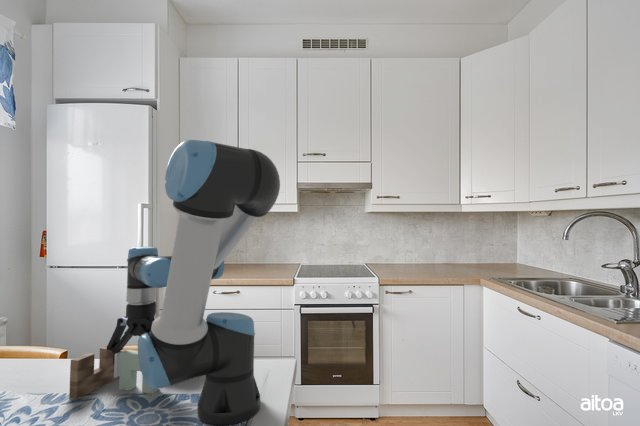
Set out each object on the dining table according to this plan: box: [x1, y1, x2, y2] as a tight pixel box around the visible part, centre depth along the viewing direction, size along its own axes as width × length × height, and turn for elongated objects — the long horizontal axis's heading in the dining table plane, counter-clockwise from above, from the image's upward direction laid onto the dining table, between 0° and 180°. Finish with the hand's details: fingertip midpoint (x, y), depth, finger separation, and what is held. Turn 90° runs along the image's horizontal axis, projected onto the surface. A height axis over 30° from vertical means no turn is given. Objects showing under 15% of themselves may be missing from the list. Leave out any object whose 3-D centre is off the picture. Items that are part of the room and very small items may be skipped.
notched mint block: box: [118, 349, 160, 394], centre depth 96 cm, size 11×2×10 cm, turn 76°
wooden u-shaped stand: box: [68, 344, 120, 400], centre depth 98 cm, size 14×2×10 cm, turn 166°
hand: (139, 378), depth 97 cm, fingers open, 13 cm apart
